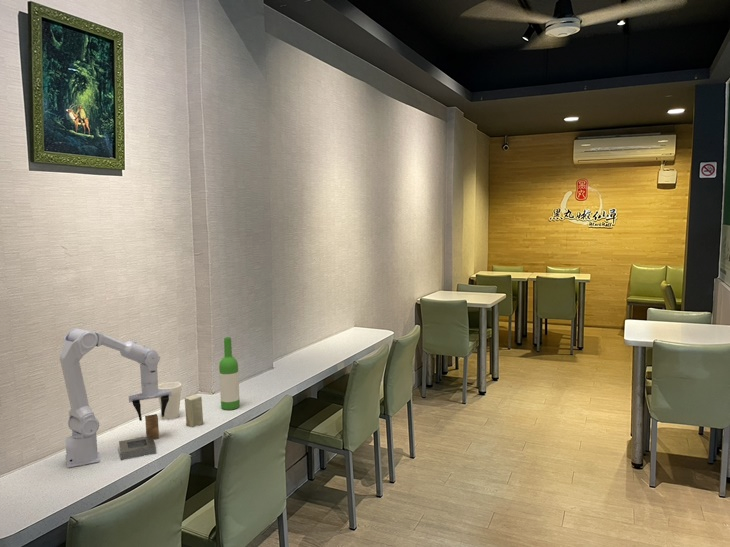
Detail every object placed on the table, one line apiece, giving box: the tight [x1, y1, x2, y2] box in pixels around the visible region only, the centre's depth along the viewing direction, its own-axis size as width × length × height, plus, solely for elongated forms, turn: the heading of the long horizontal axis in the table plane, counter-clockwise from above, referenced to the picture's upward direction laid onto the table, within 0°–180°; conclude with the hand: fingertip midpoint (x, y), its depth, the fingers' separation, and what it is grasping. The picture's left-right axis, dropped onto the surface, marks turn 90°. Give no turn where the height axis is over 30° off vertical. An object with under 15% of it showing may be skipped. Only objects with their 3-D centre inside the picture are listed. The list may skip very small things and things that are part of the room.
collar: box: [118, 436, 157, 461], centre depth 194 cm, size 11×11×2 cm
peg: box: [144, 413, 160, 440], centre depth 205 cm, size 4×4×8 cm
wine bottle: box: [218, 337, 241, 411], centre depth 236 cm, size 8×8×30 cm
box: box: [184, 394, 204, 428], centre depth 218 cm, size 5×4×11 cm
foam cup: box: [158, 381, 182, 420], centre depth 227 cm, size 10×9×13 cm
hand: (151, 417), depth 205 cm, fingers open, 7 cm apart
